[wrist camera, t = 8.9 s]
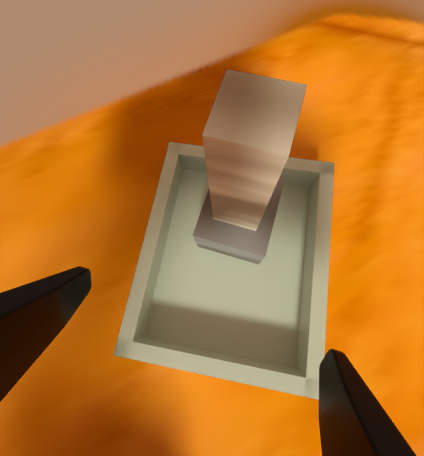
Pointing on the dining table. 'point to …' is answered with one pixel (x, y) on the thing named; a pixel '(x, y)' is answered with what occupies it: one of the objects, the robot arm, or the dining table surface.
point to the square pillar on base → (246, 162)
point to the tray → (233, 284)
